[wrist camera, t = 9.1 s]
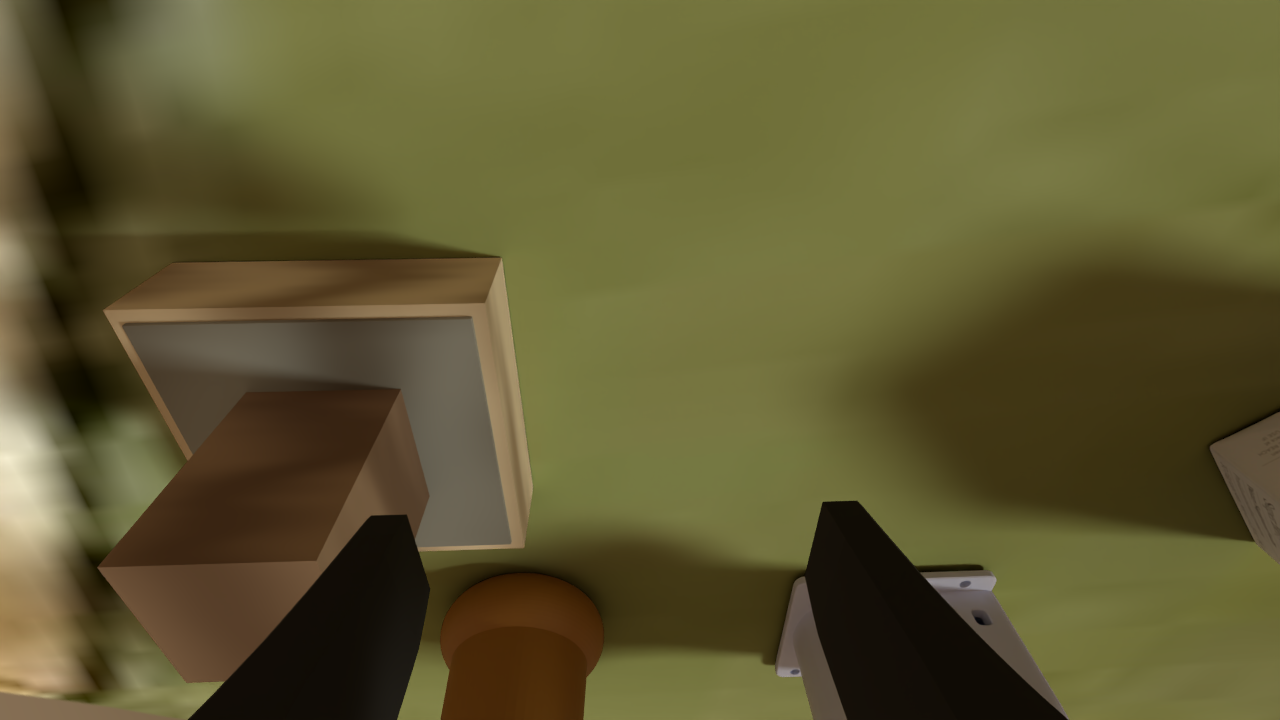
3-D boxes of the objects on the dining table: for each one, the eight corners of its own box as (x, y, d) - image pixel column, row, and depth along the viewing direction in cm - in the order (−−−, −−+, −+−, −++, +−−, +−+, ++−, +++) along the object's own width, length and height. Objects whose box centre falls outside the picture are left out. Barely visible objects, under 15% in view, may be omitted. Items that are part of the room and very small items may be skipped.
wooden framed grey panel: (501, 257, 19) (483, 305, 16) (532, 487, 24) (523, 551, 22) (172, 262, 18) (98, 312, 16) (280, 494, 24) (239, 560, 21)
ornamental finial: (474, 664, 31) (425, 575, 27) (615, 647, 31) (587, 553, 27) (437, 855, 24) (364, 775, 20) (617, 835, 24) (580, 750, 20)
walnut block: (400, 389, 17) (316, 561, 12) (429, 496, 20) (368, 675, 15) (245, 392, 17) (97, 567, 12) (293, 499, 20) (186, 682, 15)
